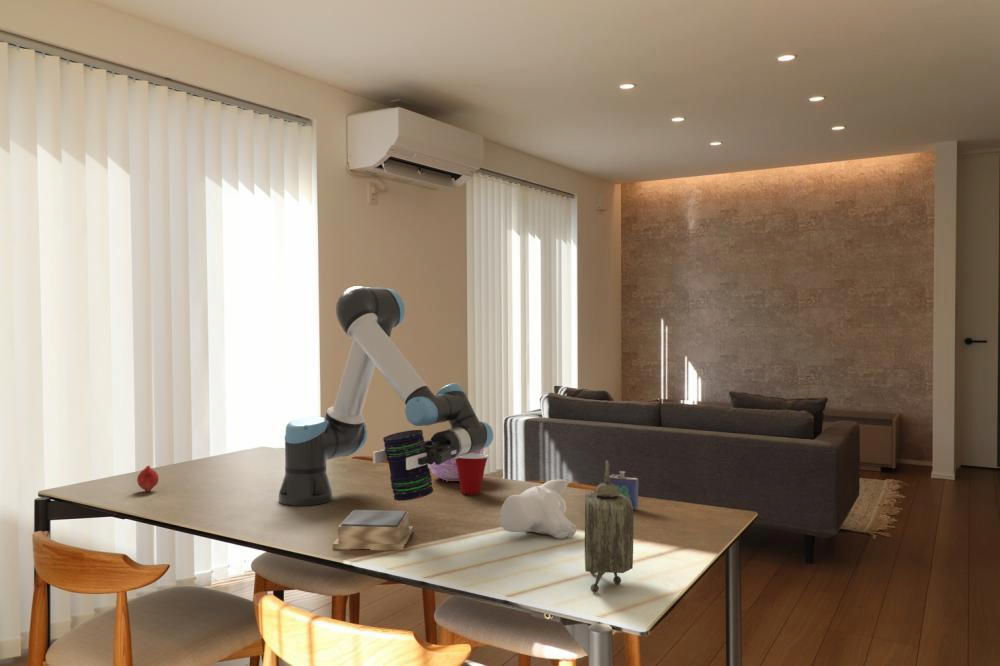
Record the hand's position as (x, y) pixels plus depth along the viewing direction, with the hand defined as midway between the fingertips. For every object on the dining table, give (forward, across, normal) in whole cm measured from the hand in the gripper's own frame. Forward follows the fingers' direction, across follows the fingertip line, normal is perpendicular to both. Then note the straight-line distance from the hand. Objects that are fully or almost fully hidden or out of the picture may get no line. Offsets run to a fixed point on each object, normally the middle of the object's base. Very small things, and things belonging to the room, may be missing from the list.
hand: (390, 460), depth 179 cm
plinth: (+2, +4, -19) cm, 20 cm away
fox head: (-28, -26, -21) cm, 43 cm away
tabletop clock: (-5, -55, -19) cm, 58 cm away
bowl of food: (-63, +31, -23) cm, 74 cm away
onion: (+8, +93, -20) cm, 95 cm away
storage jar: (-6, -2, -10) cm, 12 cm away
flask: (-62, -30, -22) cm, 72 cm away
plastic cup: (-50, +15, -22) cm, 57 cm away
